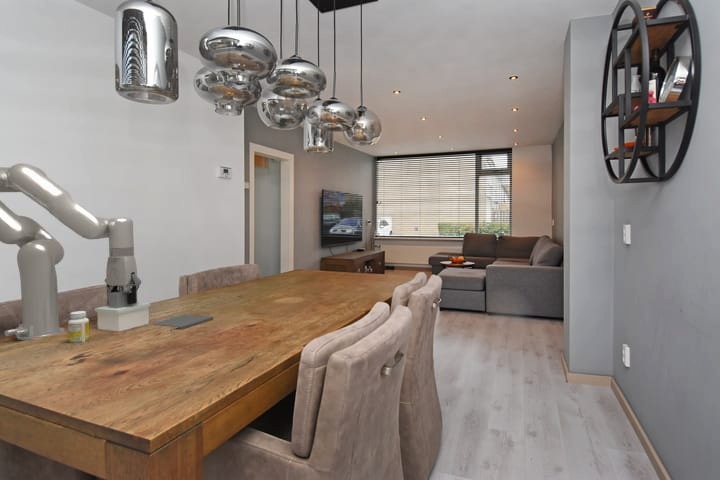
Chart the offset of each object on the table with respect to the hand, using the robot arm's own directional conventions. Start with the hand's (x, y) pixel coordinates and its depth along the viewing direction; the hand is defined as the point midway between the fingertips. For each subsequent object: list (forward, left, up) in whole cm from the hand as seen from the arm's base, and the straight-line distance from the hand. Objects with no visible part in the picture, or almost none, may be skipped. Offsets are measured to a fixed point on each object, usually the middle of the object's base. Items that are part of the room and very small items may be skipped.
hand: (123, 302), depth 144 cm
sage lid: (0, 0, -3) cm, 3 cm away
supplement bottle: (-18, -3, -9) cm, 20 cm away
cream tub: (0, 0, -9) cm, 9 cm away
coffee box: (+14, +18, -9) cm, 25 cm away
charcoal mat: (+13, -14, -9) cm, 21 cm away
